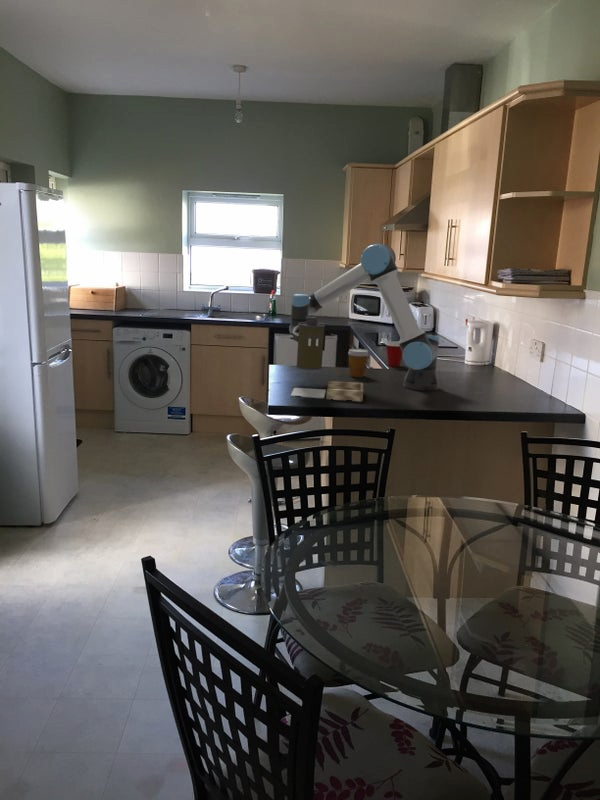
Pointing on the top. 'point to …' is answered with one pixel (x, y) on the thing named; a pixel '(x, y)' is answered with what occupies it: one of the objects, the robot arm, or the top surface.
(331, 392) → the tan low open frame
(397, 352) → the plastic cup
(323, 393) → the mat
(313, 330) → the canister
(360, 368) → the disposable coffee cup
